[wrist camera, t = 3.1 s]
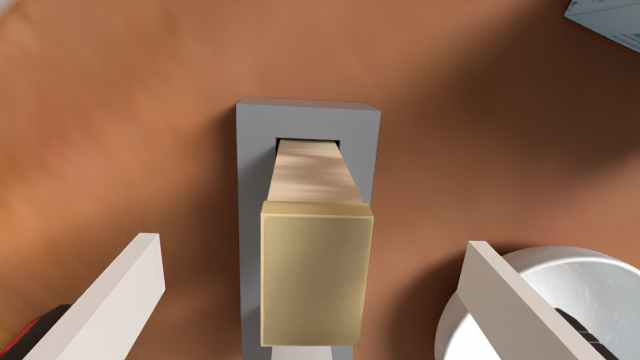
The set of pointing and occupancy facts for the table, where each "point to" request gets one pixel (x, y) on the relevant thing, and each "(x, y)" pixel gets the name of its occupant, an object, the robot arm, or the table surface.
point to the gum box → (609, 19)
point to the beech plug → (313, 248)
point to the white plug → (301, 353)
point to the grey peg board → (256, 174)
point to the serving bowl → (559, 301)
